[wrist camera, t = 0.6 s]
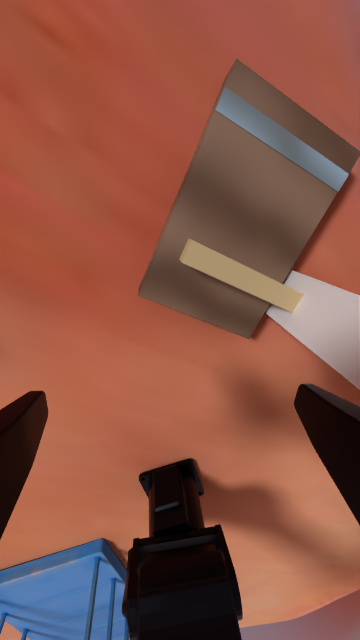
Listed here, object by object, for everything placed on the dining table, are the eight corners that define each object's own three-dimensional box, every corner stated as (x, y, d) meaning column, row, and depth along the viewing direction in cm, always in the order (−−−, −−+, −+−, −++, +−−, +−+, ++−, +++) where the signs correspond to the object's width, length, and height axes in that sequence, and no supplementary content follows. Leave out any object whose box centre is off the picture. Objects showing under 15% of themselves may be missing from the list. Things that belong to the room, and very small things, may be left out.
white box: (294, 323, 23) (426, 420, 12) (168, 267, 20) (196, 334, 9) (319, 285, 22) (491, 354, 11) (189, 218, 18) (253, 224, 8)
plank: (240, 329, 23) (248, 339, 21) (139, 288, 20) (138, 295, 18) (340, 158, 18) (362, 152, 16) (225, 76, 16) (236, 57, 14)
